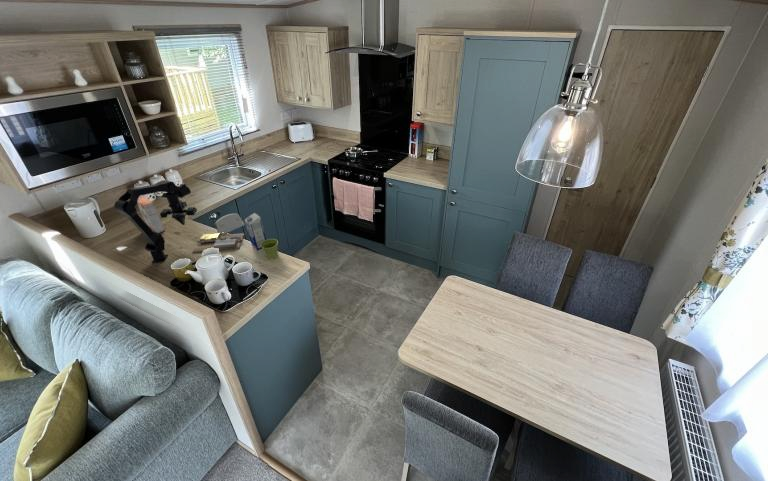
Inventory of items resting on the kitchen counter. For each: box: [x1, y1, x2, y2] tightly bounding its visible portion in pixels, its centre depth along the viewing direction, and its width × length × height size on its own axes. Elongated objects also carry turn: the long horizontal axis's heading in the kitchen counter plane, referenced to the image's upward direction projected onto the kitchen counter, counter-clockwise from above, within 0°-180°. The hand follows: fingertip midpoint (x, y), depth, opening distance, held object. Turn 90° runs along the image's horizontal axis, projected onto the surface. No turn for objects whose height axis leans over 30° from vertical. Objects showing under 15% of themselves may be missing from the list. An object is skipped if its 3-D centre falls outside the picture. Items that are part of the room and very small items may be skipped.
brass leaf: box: [199, 232, 221, 241], centre depth 208 cm, size 6×10×2 cm, turn 97°
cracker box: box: [136, 196, 166, 234], centre depth 218 cm, size 14×6×21 cm, turn 49°
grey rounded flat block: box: [214, 213, 246, 235], centre depth 221 cm, size 17×5×10 cm, turn 138°
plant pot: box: [261, 238, 279, 260], centre depth 192 cm, size 9×9×9 cm
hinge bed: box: [192, 233, 245, 254], centre depth 206 cm, size 16×26×4 cm, turn 98°
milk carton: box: [244, 212, 267, 251], centre depth 198 cm, size 7×7×20 cm
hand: (183, 224), depth 205 cm, fingers closed
